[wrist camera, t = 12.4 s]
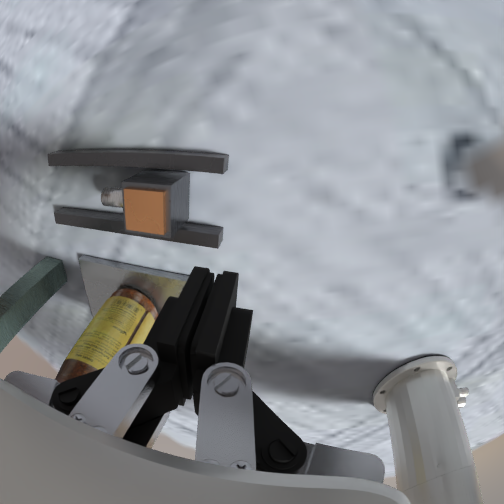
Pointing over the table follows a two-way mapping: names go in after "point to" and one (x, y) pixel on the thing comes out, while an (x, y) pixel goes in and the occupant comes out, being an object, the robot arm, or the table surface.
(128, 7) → the table surface
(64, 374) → the sauce bottle
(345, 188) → the table surface
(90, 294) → the frame
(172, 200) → the orange-faced grey cube
